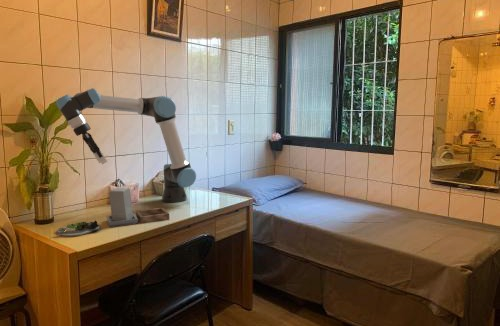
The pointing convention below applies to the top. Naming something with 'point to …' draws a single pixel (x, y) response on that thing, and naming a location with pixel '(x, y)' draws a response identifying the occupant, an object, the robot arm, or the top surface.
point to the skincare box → (121, 204)
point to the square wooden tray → (152, 215)
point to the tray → (122, 221)
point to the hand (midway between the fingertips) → (103, 162)
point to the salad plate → (78, 229)
